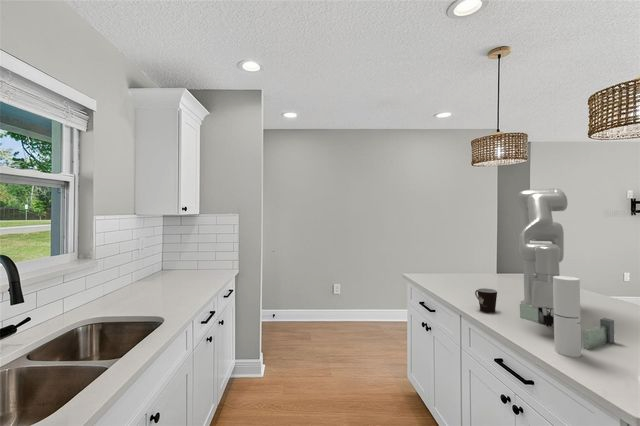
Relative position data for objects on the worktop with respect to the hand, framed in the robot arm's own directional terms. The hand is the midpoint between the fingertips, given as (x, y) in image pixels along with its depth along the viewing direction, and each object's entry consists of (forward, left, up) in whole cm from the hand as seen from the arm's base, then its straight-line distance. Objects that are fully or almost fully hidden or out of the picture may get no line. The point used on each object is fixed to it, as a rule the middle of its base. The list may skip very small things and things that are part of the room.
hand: (548, 325), depth 125 cm
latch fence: (-5, +14, -4) cm, 15 cm away
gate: (-4, 0, -3) cm, 5 cm away
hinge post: (-11, -13, -4) cm, 17 cm away
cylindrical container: (+11, +12, -4) cm, 17 cm away
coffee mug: (-7, -33, -4) cm, 33 cm away
